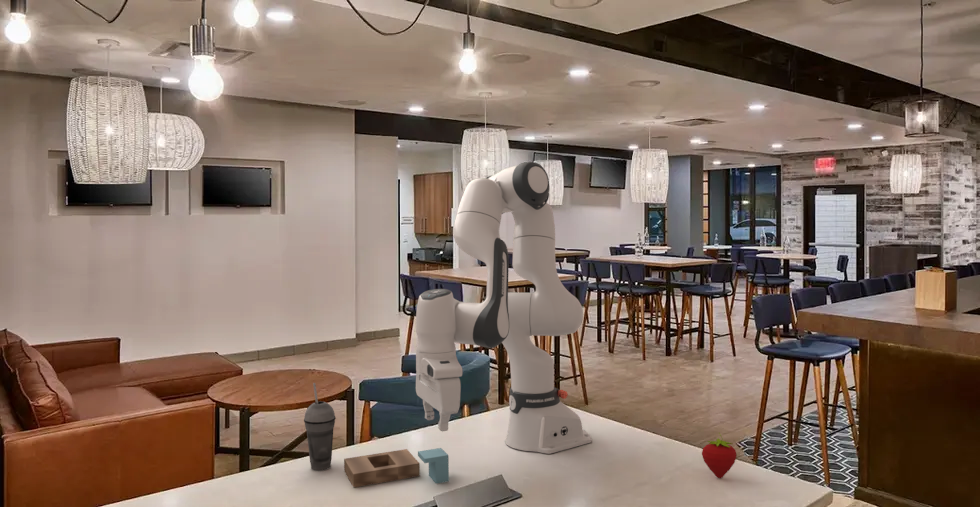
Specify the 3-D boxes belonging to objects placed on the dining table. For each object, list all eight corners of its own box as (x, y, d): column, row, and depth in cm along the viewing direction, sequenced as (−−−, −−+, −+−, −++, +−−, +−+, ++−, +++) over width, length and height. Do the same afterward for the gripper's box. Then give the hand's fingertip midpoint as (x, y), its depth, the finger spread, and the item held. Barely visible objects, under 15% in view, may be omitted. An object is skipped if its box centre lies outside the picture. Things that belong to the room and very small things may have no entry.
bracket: (441, 473, 151) (440, 447, 151) (448, 481, 147) (448, 455, 146) (418, 477, 149) (417, 451, 149) (425, 485, 144) (424, 458, 144)
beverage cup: (328, 474, 151) (326, 388, 150) (299, 471, 153) (297, 386, 152) (341, 462, 158) (340, 380, 157) (313, 460, 160) (311, 378, 159)
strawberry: (697, 472, 150) (698, 429, 150) (730, 472, 151) (730, 429, 150) (706, 483, 144) (707, 438, 144) (740, 482, 145) (741, 437, 144)
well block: (406, 461, 159) (406, 449, 159) (419, 476, 150) (419, 463, 150) (344, 471, 153) (344, 458, 153) (353, 487, 144) (353, 474, 144)
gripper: (409, 356, 155) (409, 414, 155) (437, 372, 136) (437, 439, 137) (434, 354, 158) (434, 411, 158) (465, 370, 139) (465, 435, 139)
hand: (436, 424), depth 147 cm, fingers open, 8 cm apart
